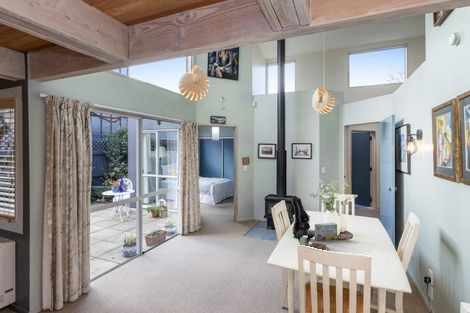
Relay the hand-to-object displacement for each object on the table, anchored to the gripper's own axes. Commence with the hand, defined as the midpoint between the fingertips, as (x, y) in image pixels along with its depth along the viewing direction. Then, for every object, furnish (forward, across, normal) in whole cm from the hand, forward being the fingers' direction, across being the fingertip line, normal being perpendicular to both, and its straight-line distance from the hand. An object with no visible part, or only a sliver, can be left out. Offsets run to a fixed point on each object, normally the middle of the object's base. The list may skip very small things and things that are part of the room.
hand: (303, 243), depth 232 cm
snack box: (+2, +11, +26) cm, 28 cm away
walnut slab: (+2, +13, +1) cm, 13 cm away
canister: (+2, -18, +34) cm, 38 cm away
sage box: (+1, 0, 0) cm, 1 cm away
